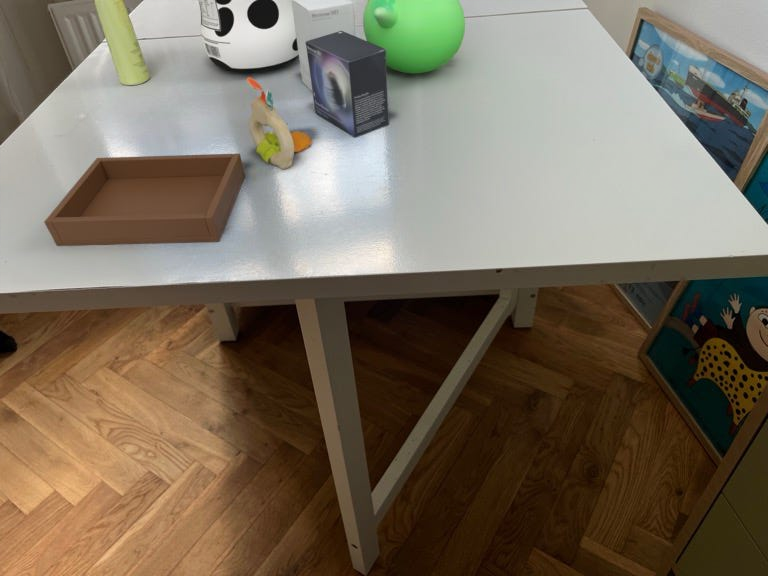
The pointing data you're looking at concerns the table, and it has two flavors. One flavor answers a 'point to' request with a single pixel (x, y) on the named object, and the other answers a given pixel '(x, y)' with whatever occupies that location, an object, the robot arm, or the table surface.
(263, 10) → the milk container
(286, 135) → the rattle
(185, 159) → the tray
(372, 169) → the table surface
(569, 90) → the table surface
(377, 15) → the toy bird
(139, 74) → the tube
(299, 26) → the white packaging box
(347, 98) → the small box
